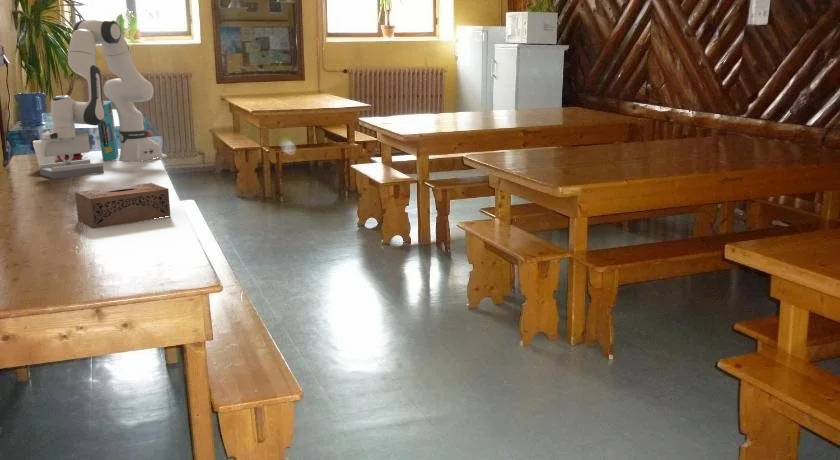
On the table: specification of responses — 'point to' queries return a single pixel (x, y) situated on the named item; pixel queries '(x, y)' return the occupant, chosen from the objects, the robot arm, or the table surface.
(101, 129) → the game box
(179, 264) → the table surface
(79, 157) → the plant pot
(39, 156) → the foam cup
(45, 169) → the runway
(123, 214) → the tissue box cover
